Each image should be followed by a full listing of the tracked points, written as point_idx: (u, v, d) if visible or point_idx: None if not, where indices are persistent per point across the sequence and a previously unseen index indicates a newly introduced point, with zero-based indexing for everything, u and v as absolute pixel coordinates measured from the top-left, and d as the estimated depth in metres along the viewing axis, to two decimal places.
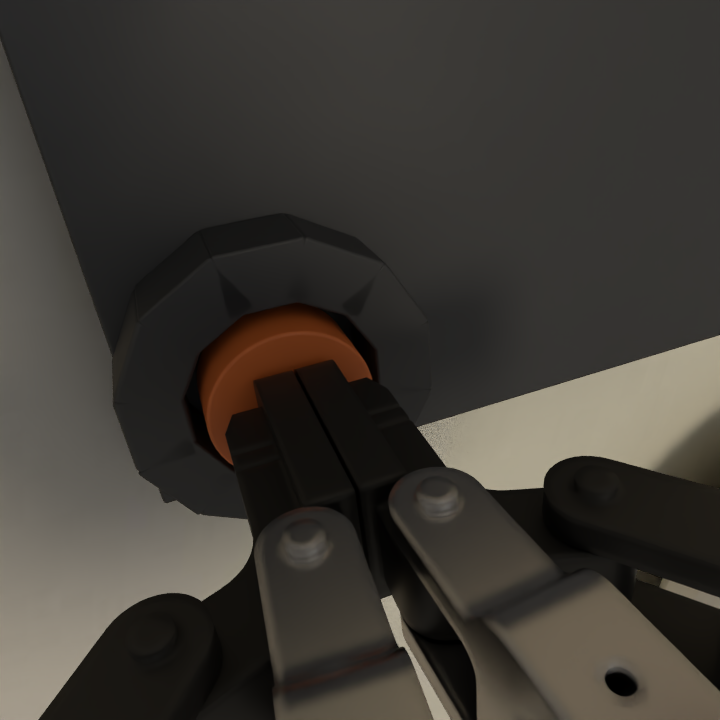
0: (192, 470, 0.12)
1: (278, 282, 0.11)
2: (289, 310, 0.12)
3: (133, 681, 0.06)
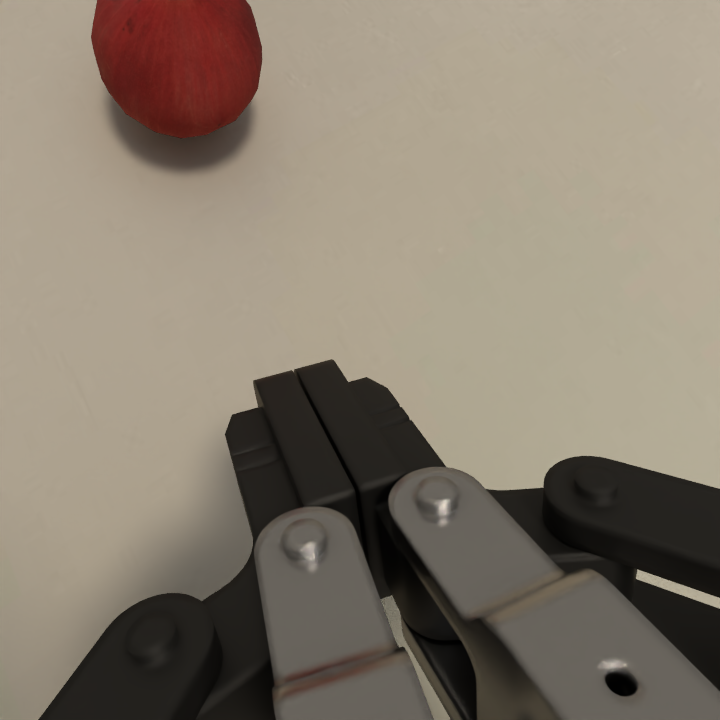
0: None
1: None
2: None
3: (134, 681, 0.06)
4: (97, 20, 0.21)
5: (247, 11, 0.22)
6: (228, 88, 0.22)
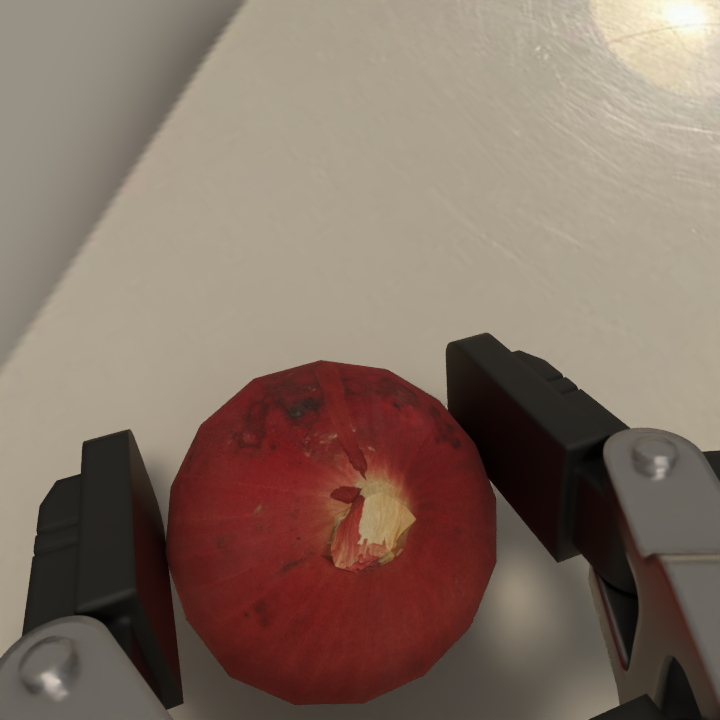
0: None
1: None
2: None
3: None
4: (181, 559, 0.09)
5: (483, 476, 0.10)
6: (455, 641, 0.10)
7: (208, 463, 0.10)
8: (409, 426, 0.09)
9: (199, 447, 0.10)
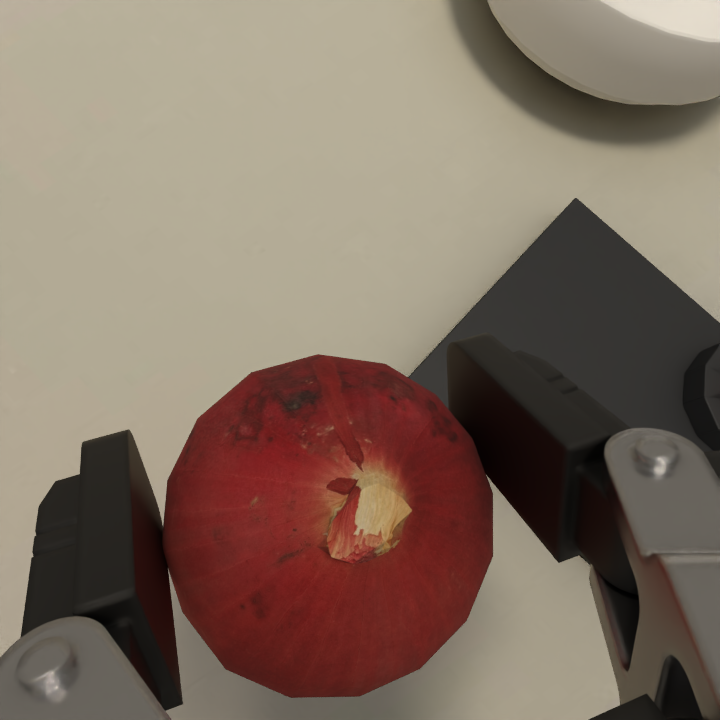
0: None
1: None
2: None
3: None
4: (178, 552, 0.09)
5: (479, 470, 0.10)
6: (451, 634, 0.10)
7: (204, 455, 0.10)
8: (406, 419, 0.09)
9: (196, 441, 0.10)
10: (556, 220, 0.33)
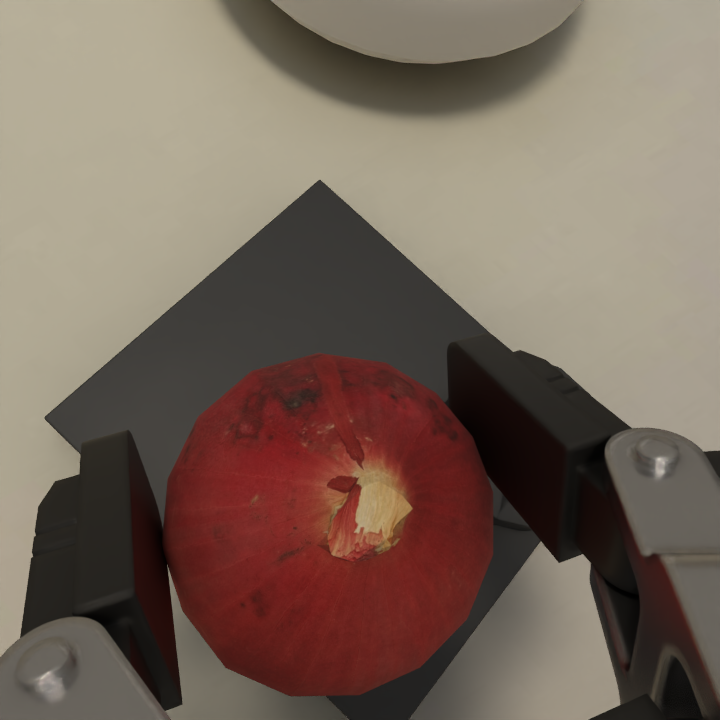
0: None
1: None
2: None
3: None
4: (178, 550, 0.09)
5: (480, 469, 0.10)
6: (451, 633, 0.10)
7: (206, 453, 0.10)
8: (407, 417, 0.09)
9: (196, 439, 0.10)
10: (288, 208, 0.26)
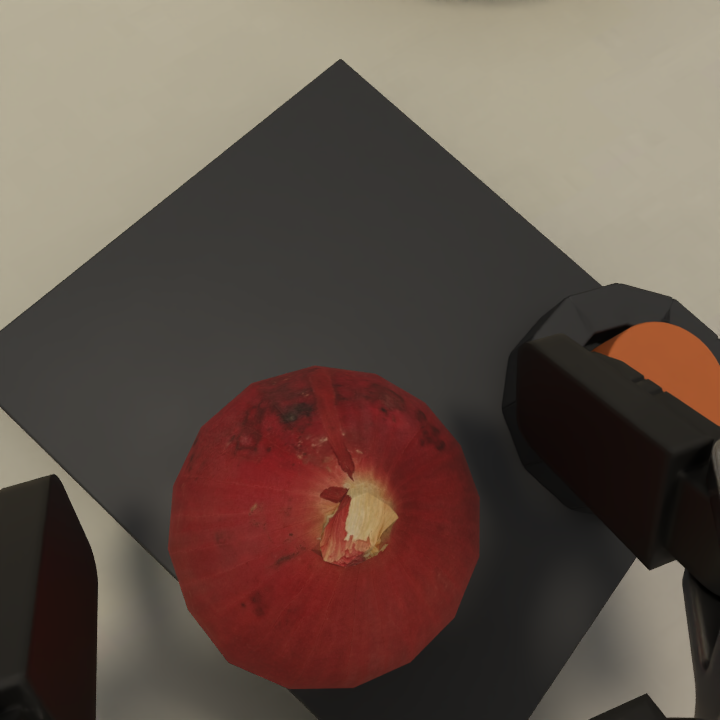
0: None
1: None
2: None
3: None
4: (183, 553, 0.10)
5: (466, 476, 0.11)
6: (439, 630, 0.11)
7: (208, 463, 0.10)
8: (396, 430, 0.10)
9: (200, 448, 0.11)
10: (299, 93, 0.19)
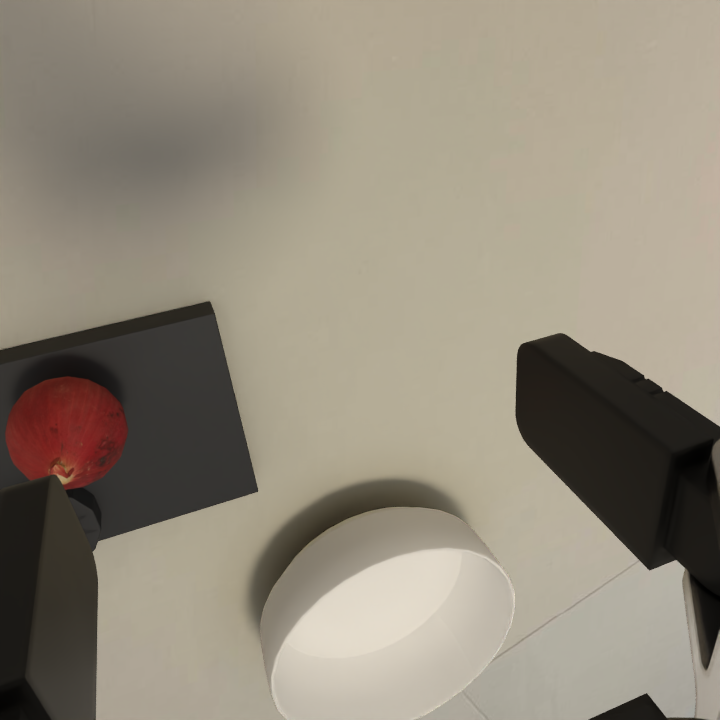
0: None
1: None
2: None
3: None
4: (82, 407, 0.31)
5: None
6: (11, 456, 0.32)
7: (104, 426, 0.32)
8: (80, 484, 0.32)
9: (112, 420, 0.33)
10: (252, 470, 0.43)
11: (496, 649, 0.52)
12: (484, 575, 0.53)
